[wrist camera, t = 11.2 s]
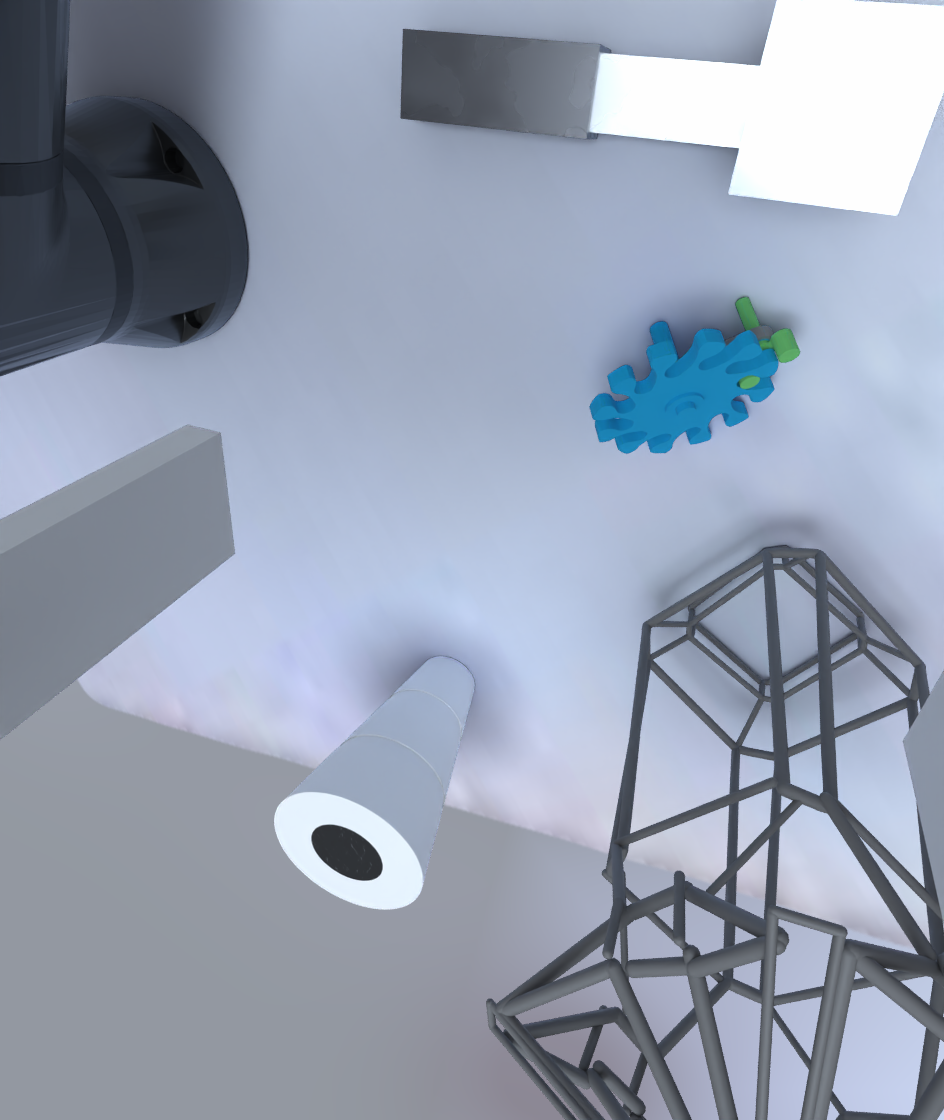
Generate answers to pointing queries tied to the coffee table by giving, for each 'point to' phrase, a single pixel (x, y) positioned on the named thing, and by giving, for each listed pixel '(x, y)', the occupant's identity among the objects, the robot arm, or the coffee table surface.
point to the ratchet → (571, 89)
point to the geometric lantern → (846, 955)
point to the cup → (381, 793)
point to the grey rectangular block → (842, 104)
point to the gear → (692, 384)
